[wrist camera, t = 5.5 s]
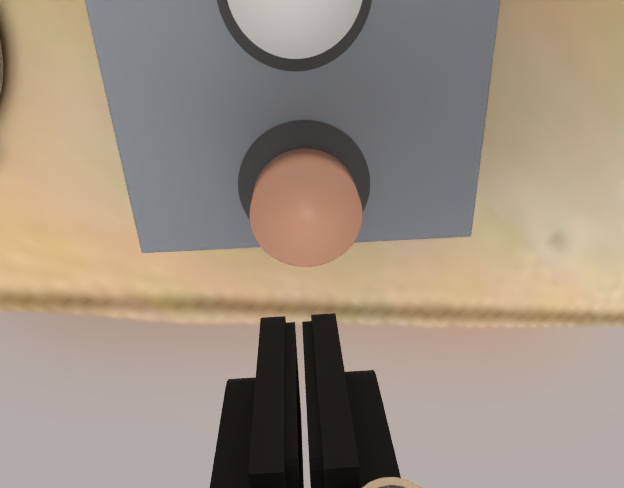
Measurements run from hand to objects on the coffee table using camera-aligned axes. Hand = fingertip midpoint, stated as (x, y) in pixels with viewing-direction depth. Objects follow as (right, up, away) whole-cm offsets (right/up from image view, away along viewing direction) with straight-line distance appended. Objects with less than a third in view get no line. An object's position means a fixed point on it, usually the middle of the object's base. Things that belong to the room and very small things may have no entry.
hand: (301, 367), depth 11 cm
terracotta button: (0, +5, +9) cm, 11 cm away
